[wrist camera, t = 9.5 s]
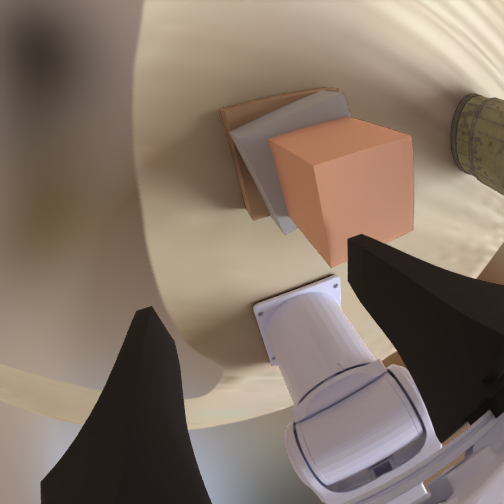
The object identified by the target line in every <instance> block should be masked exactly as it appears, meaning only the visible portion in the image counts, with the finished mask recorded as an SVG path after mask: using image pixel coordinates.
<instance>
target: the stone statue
mask: <svg viewBox="0 0 504 504" xmlns="http://www.w3.org/2000/svg"><path fill="white" fill-rule="evenodd" d="M451 149H452V153H453V157H454V161H455V162H456V164H457V166H458V167H459V169H461V170H462V171H464V172H465V173H467V174H469V175H472V176H474V177H476V178H477V180H479V181H480V182H481V183H483V184H485V185H486V186H488V187H490V188H492V189H493V190H495V191H497V192H499V193H500V194H502V195H504V100H501V99H498V98H495V97H494V98H486V97H483V96H481V95H478V94H470V95H467V96H466V97H465V98H464V99H463V100H462V101H461V102H460V104H459V106H458V108H457V109H456V112H455V115H454V119H453V122H452V130H451Z"/></svg>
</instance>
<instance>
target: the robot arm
mask: <svg viewBox="0 0 504 504" xmlns="http://www.w3.org/2000/svg"><path fill="white" fill-rule="evenodd" d="M347 248H348V282H349V284H350V285H351V287H352V289H353V291H354V292H355V294H356V296H357V297H358V299H359V301H360V302H361V303H362V305H363V306H364V307H365V309H366V310H367V311H368V313H369V314H370V315H371V316H372V318H373V319H374V320H375V322H376V323H377V324H378V325H379V327H380V328H381V329H382V331H383V332H384V333H385V335H386V336H387V337H388V339H389V340H390V341H391V343H392V344H393V345H394V347H395V348H396V350H397V351H398V353H399V355H400V356H401V358H402V360H403V362H404V363H405V365H406V367H407V369H408V370H407V369H406V368H404V367H402V366H397V365H395V364H392V365H390V366H389V367H387V369H386V368H385V366H384V365H383V363H382V362H381V360H380V359H377V360H375V358H374V357H373V355H372V354H371V352H370V351H369V349H368V348H367V346H366V345H365V343H364V342H363V340H362V339H361V337H360V336H359V334H358V333H357V331H356V330H355V328H354V327H353V326H352V324H351V323H350V321H349V320H348V318H347V317H346V315H345V314H344V312H343V311H342V310H341V291H340V278H339V276H337V275H333V276H330V277H328V278H325V279H322V280H320V281H317V282H315V283H312V284H309V285H306V286H304V287H301V288H298V289H296V290H293V291H290V292H287V293H285V294H282V295H279V296H276V297H273V298H271V299H268V300H265V301H262V302H259V303H257V304H255V305H254V307H253V310H254V313H255V316H256V320H257V323H258V326H259V329H260V332H261V335H262V338H263V341H264V344H265V348H266V351H267V354H268V357H269V360H270V363H271V365H272V366H276V365H278V366H279V368H280V370H281V373H282V375H283V378H284V380H285V383H286V385H287V388H288V390H289V393H290V395H291V397H292V400H293V402H294V405H295V407H293V408H292V409H290V412H291V414H292V417H293V419H294V421H292V422H290V423H289V424H288V425H287V427H286V432H285V435H284V443H285V447H286V451H287V454H288V457H289V460H290V462H291V464H292V466H293V468H294V470H295V471H296V473H297V475H298V476H299V477H300V479H301V480H302V481H303V482H304V483H305V484H306V485H307V486H309V487H311V489H312V490H313V491H314V492H315V493H316V494H317V496H318V497H319V498H320V500H321V501H322V502H324V503H325V504H504V285H500V284H495V283H490V282H485V281H482V280H478V279H474V278H470V277H467V276H463V275H460V274H457V273H454V272H451V271H448V270H445V269H443V268H440V267H437V266H435V265H432V264H430V263H427V262H425V261H422V260H420V259H418V258H415V257H413V256H411V255H409V254H406V253H404V252H402V251H400V250H398V249H395V248H393V247H391V246H389V245H387V244H385V243H382V242H380V241H378V240H376V239H373V238H371V237H369V236H366V235H364V234H359V235H356V236H354V237H351V238H348V239H347ZM334 284H335V285H334ZM259 312H261V313H259ZM468 423H469V424H470V425H471V426H470V427H469V428H467V429H466V430H465V431H464V432H462V433H461V434H460V435H459V436H457V437H456V438H455V439H453V440H452V441H451V442H449V443H448V444H447V445H445V446H444V447H442V443H443V442H444V441H446V440H447V439H448V438H450V437H451V436H453V435H454V434H455V433H456V432H458V431H459V430H460V429H462V428H463V427H464V426H465V425H467V424H468ZM465 451H466V452H465ZM464 452H465V457H464V459H463V460H461V461H460V462H458V463H456V464H455V465H453V466H452V467H450V468H449V469H447V470H446V471H445V472H443V473H442V474H441V475H439V476H438V477H437V478H435V479H434V480H433V481H431V482H430V483H429V484H428V485H427V487H428V489H429V491H430V492H429V493H427V491H426V489H425V487H424V485H423V481H425V480H427V479H428V478H430V477H431V476H433V475H434V474H435V473H437V472H438V471H440V470H441V469H443V468H444V467H445V466H447V465H448V464H450V463H451V462H452V461H454V460H455V459H456V458H457V457H459V456H460V455H461V454H463V453H464ZM41 504H212V503H211V500H210V498H209V496H208V493H207V491H206V488H205V485H204V482H203V480H202V477H201V474H200V471H199V468H198V465H197V462H196V458H195V455H194V452H193V448H192V445H191V441H190V437H189V433H188V429H187V423H186V416H185V408H184V399H183V390H182V380H181V371H180V365H179V359H178V354H177V350H176V346H175V342H174V340H173V339H172V337H171V335H170V334H169V333H168V331H167V329H166V328H165V326H164V325H163V323H162V321H161V320H160V318H159V317H158V315H157V314H156V312H155V310H154V309H153V307H152V306H151V307H147V308H144V309H141V310H138V311H136V313H135V315H134V318H133V320H132V322H131V325H130V327H129V330H128V332H127V335H126V338H125V340H124V342H123V345H122V348H121V350H120V352H119V355H118V357H117V360H116V362H115V365H114V367H113V369H112V371H111V374H110V376H109V378H108V380H107V383H106V385H105V387H104V389H103V391H102V393H101V395H100V397H99V399H98V401H97V403H96V405H95V407H94V408H93V410H92V412H91V414H90V416H89V417H88V419H87V420H86V422H85V424H84V425H83V427H82V429H81V430H80V432H79V434H78V435H77V437H76V438H75V440H74V441H73V443H72V444H71V445H70V447H69V448H68V450H67V451H66V452H65V454H64V455H63V456H62V458H61V459H60V460H59V462H58V463H57V464H56V465H55V467H54V468H53V469H52V470H51V471H50V472H49V473H48V474H47V476H46V477H45V478H44V479H43V480H42V481H41Z"/></svg>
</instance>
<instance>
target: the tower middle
mask: <svg viewBox="0 0 504 504" xmlns="http://www.w3.org/2000/svg"><path fill="white" fill-rule="evenodd" d="M346 116H347V117H351V114H350V111H349V108H348V105H347V102H346V99H345V97H344V94H343V93H340V92H331V91H319V92H316V93H313V94H311V95H309V96H306V97H304V98H301V99H299V100H297V101H294V102H292V103H290V104H287V105H285V106H283V107H281V108H278V109H276V110H274V111H272V112H269V113H267V114H265V115H263V116H261V117H259V118H257V119H255V120H253V121H250V122H248V123H246V124H244V125H242V126H240V127H238V128H236V129H234V130H232V131H230V132H229V133H230V135H231V137H232V139H233V141H234V143H235V145H236V147H237V149H238V151H239V153H240V155H241V157H242V159H243V161H244V163H245V165H246V167H247V169H248V171H249V172H250V174H251V176H252V178H253V180H254V182H255V184H256V186H257V189H258V191H259V193H260V195H261V197H262V199H263V201H264V203H265V205H266V207H267V209H268V211H269V213H270V215H271V217H272V218H273V219H274V221H275V222H276V224H277V225H278V226H279V228H280V229H281V230H282V232H283V233H284V235H286V234H287V233H289V232H291V231H293V230H295V229H297V228H298V227H297V226H296V225H295V223H294V222H293V221H292V220H291V219H290V217H289V215H288V211H287V208H286V204H285V200H284V196H283V192H282V188H281V184H280V181H279V177H278V173H277V170H276V166H275V162H274V159H273V155H272V151H271V148H270V144H269V141H268V139H269V138H272V137H275V136H278V135H282V134H285V133H288V132H291V131H295V130H298V129H302V128H305V127H309V126H312V125H316V124H319V123H323V122H327V121H331V120H334V119H338V118H342V117H346ZM351 118H352V117H351Z"/></svg>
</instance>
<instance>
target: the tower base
mask: <svg viewBox="0 0 504 504" xmlns="http://www.w3.org/2000/svg"><path fill="white" fill-rule="evenodd" d="M319 91H331V92H339V89H337V88H325V87H323V88H316V89H310V90H304V91H298V92H292V93H287V94H282V95H277V96H272V97H267V98H262V99H258V100H253V101H249V102H245V103H241V104H237V105H233V106H229V107H225V108H222V109H220V112H221V115H222V119H223V123H224V127H225V130H226V134H227V138H228V142H229V146H230V149H231V153H232V157H233V161H234V164H235V168H236V172H237V176H238V180H239V183H240V187H241V191H242V195H243V199H244V202H245V206H246V209H247V211H248V213H249V214H250V216H251V218H252V219H253V221H254V220H257V219H260V218H264V217H267V216H270V213H269V211H268V209H267V207H266V205H265V203H264V201H263V199H262V197H261V195H260V193H259V191H258V189H257V186H256V184H255V182H254V180H253V178H252V176H251V174H250V172H249V171H248V169H247V167H246V165H245V163H244V161H243V159H242V157H241V155H240V153H239V151H238V149H237V147H236V145H235V143H234V141H233V139H232V137H231V135H230V133H229V132H230V131H232V130H234V129H236V128H238V127H240V126H242V125H244V124H246V123H248V122H250V121H253V120H255V119H257V118H259V117H261V116H263V115H265V114H267V113H269V112H272V111H274V110H276V109H278V108H281V107H283V106H285V105H287V104H290V103H292V102H294V101H297V100H299V99H301V98H304V97H306V96H309V95H311V94H313V93H316V92H319Z"/></svg>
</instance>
